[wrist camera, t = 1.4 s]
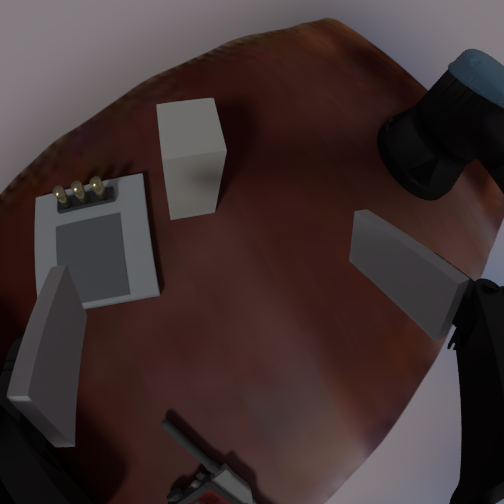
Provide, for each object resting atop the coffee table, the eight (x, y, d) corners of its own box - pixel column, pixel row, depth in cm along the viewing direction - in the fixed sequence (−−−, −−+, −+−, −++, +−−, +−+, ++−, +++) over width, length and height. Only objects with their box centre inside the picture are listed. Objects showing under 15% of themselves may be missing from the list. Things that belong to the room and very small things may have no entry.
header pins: (114, 189, 32) (106, 172, 28) (114, 201, 31) (106, 185, 28) (59, 201, 30) (47, 186, 26) (59, 214, 30) (46, 199, 26)
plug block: (205, 167, 36) (213, 97, 24) (214, 212, 34) (226, 150, 23) (164, 174, 34) (156, 104, 23) (170, 220, 33) (162, 159, 22)
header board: (143, 177, 34) (142, 172, 33) (160, 295, 30) (159, 293, 29) (39, 201, 30) (35, 197, 29) (43, 316, 27) (38, 315, 26)
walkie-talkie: (294, 513, 26) (171, 411, 28) (307, 530, 22) (168, 422, 23) (241, 551, 23) (115, 455, 25) (248, 570, 19) (105, 469, 21)
